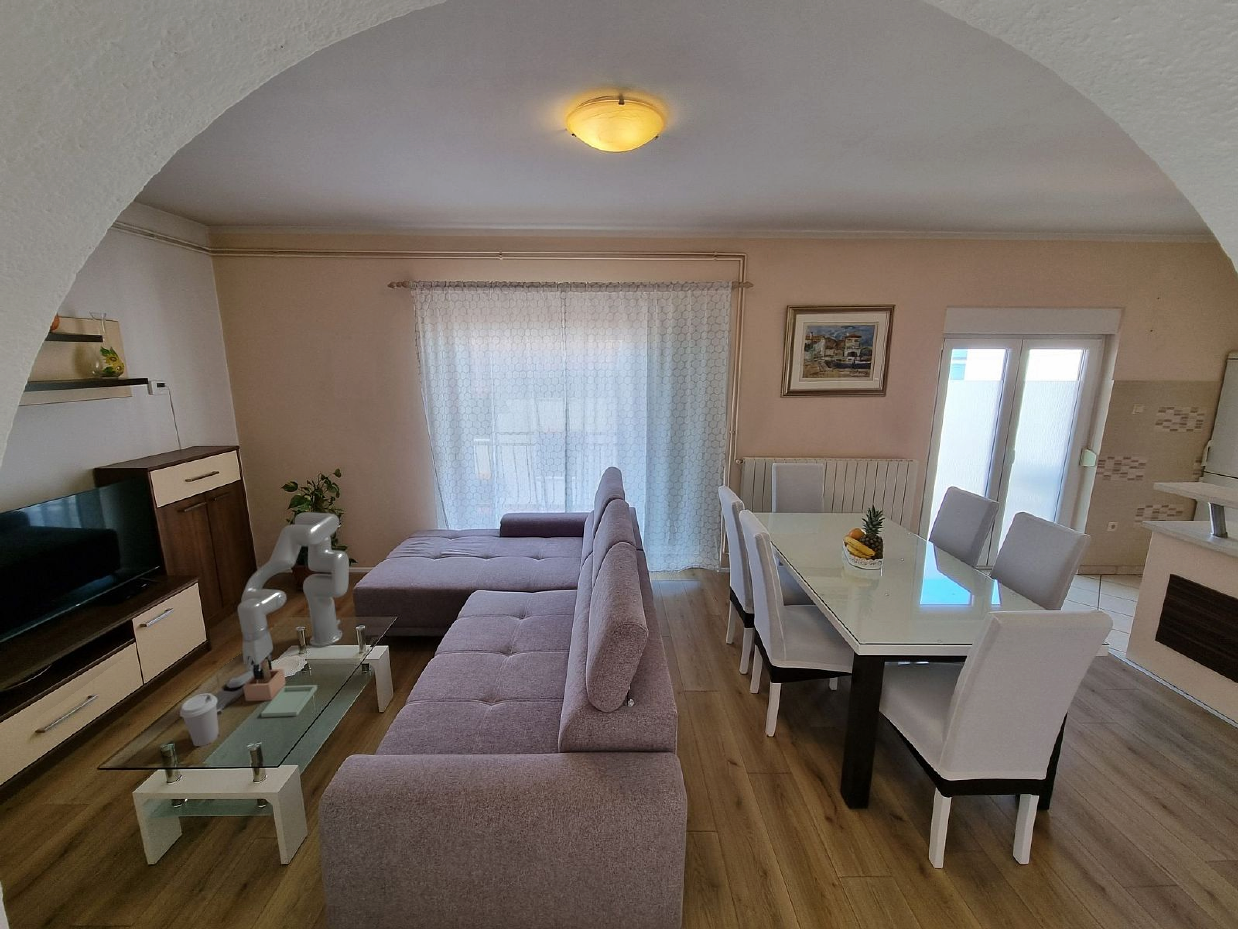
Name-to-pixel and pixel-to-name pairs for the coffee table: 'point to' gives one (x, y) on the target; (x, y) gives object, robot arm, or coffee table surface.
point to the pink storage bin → (264, 686)
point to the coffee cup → (201, 718)
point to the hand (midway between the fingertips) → (263, 674)
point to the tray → (289, 701)
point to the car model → (232, 691)
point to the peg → (265, 672)
